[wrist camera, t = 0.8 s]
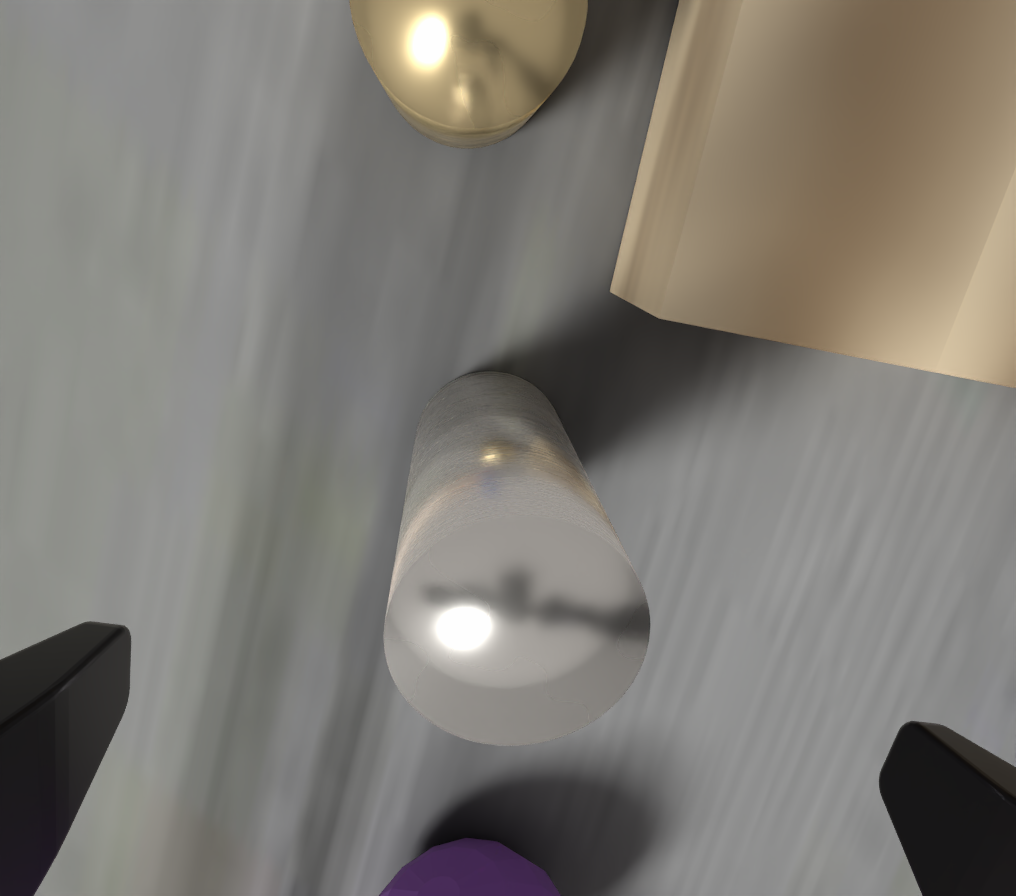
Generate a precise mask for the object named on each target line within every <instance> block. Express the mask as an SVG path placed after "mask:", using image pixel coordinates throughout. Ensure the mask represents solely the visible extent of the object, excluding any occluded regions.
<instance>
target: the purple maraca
mask: <svg viewBox="0 0 1016 896" xmlns="http://www.w3.org/2000/svg"><path fill="white" fill-rule="evenodd" d="M379 896H561V895H560V893H559V892H558V890H557V889H556V887H555V885H554V884H553V882H552V881H551V879H550V878H549V876H548V875H547V873H546V872H545V871H544V870H543V869H541V868H540V867H538V866H536V865H535V864H533V863H531V862H530V861H528V860H527V859H525V858H523V857H522V856H520V855H519V854H517V853H515V852H514V851H512V850H510V849H509V848H507V847H506V846H504V845H502V844H501V843H499V842H497V841H489V840H480V839H472V838H463V839H460V840H456V841H452V842H449V843H445V844H441V845H438V846H434V847H432V848H431V849H429V850H428V851H426V852H425V853H423V854H422V855H420V856H419V857H417V858H416V859H414V860H413V861H411V862H410V863H408V864H407V865H405V866H404V867H402V868H401V870H400V871H399V872H398V873H397V874H396V876H395V877H394V878H393V879H392V880H391V882H390V883H389V884H388V885H387V886H386V888H385V889H384V890H383V891H382V892H381V894H380V895H379Z"/></svg>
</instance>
